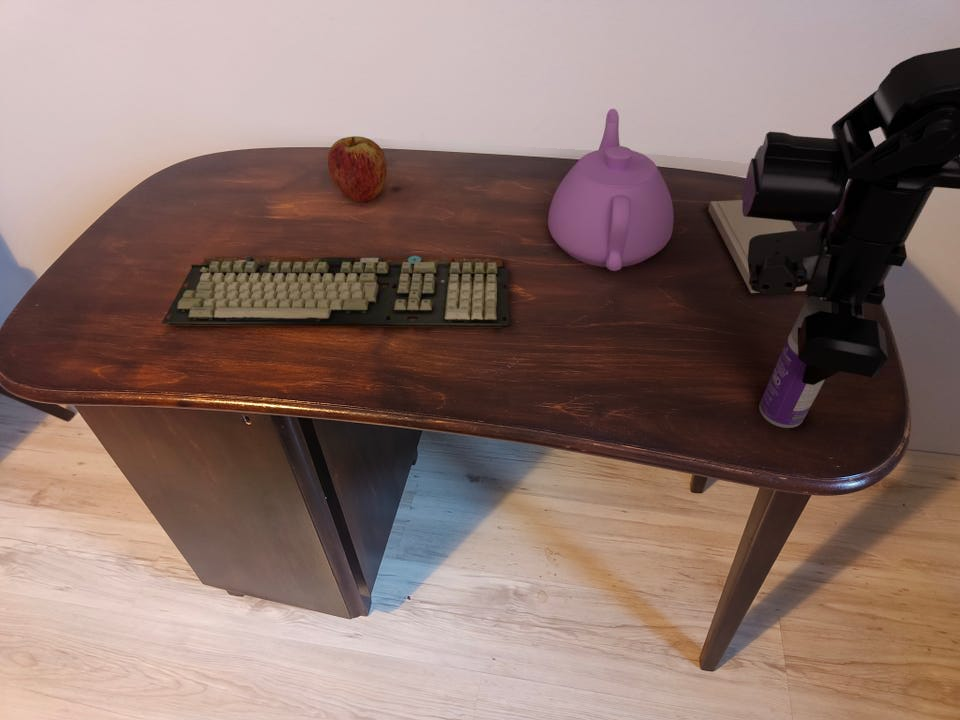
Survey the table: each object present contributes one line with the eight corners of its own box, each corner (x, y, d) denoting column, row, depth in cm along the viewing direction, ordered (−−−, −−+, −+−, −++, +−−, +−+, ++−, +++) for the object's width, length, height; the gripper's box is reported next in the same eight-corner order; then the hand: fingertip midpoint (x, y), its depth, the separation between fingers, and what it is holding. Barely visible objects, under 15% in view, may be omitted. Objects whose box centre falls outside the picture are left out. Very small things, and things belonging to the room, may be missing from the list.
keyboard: (163, 329, 82) (155, 314, 81) (201, 261, 93) (195, 246, 91) (510, 330, 80) (510, 315, 78) (510, 260, 90) (511, 245, 89)
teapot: (680, 287, 85) (703, 197, 75) (547, 285, 86) (552, 196, 77) (656, 189, 103) (672, 105, 93) (546, 188, 104) (550, 106, 94)
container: (749, 404, 71) (793, 300, 60) (782, 390, 72) (830, 286, 61) (780, 434, 68) (831, 330, 57) (813, 418, 69) (870, 315, 58)
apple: (325, 206, 102) (311, 148, 95) (349, 178, 108) (338, 121, 101) (377, 214, 100) (367, 155, 93) (399, 185, 106) (391, 127, 99)
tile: (826, 290, 84) (831, 278, 82) (750, 293, 84) (754, 281, 82) (772, 207, 98) (776, 196, 96) (708, 210, 98) (710, 198, 96)
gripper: (771, 157, 61) (730, 285, 72) (763, 273, 49) (715, 405, 60) (901, 174, 58) (837, 304, 69) (926, 301, 46) (844, 435, 57)
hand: (807, 356), depth 64 cm, fingers open, 7 cm apart
